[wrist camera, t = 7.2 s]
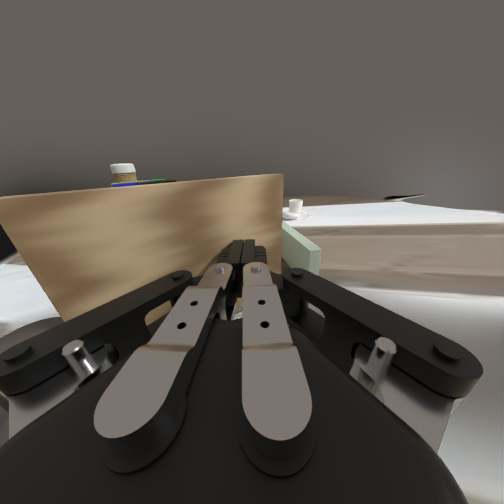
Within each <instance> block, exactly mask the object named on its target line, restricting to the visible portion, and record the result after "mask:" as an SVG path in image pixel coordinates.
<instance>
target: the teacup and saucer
mask: <svg viewBox="0 0 504 504" xmlns="http://www.w3.org/2000/svg"><path fill="white" fill-rule="evenodd" d="M302 202H303V200H300V199H292V200H289V210H290V211H289V212H283V213H282V218H284V219H291V220H302V219H308V218H310V217H312V214H310V213H307V212H302V211H301V209H302ZM300 213H304V214H306V215H307V217H305V218H299V215H300Z"/></svg>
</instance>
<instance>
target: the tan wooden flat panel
mask: <svg viewBox="0 0 504 504" xmlns="http://www.w3.org/2000/svg"><path fill="white" fill-rule="evenodd" d="M282 210H283V174H265V175H254V176H241V177H229V178H218V179H207V180H195V181H182V182H170V183H158V184H147V185H135V186H123V187H111V188H100V189H88V190H76V191H64V192H53V193H41V194H30V195H18V196H5V197H0V224H1V225H2V227H3V229H4V230H5V232H6V233H7V235H8V236H9V238H10V239H11V241H12V242H13V244H14V245H15V247H16V249H17V250H18V252H19V253H20V255H21V256H22V258H23V259H24V261H25V262H26V264H27V266H28V267H29V269H30V270H31V272H32V273H33V275H34V276H35V278H36V279H37V281H38V282H39V284H40V286H41V287H42V289H43V290H44V292H45V293H46V295H47V296H48V298H49V299H50V301H51V302H52V304H53V306H54V307H55V309H56V310H57V312H58V313H59V315H60V316H61V317H53V318H48V319H43V320H40V321H37V322H34V323H31V324H28V325H26V326H24V327H21V328H19V329H17V330H15V331H13V332H11V333H9V334H7V335H5V336H4V337H2V338H0V354H1V353H2V352H4V351H6V350H7V349H9V348H11V347H12V346H14V345H16V344H18V343H21V342H23V341H25V340H27V339H29V338H31V337H34V336H36V335H38V334H40V333H42V332H44V331H46V330H49V329H51V328H53V327H55V326H57V325H59V324H62V323H64V322H66V321H68V320H70V319H72V318H75V317H77V316H79V315H81V314H83V313H85V312H88V311H90V310H92V309H94V308H96V307H98V306H101V305H103V304H105V303H107V302H109V301H111V300H114V299H116V298H118V297H120V296H122V295H124V294H127V293H129V292H131V291H133V290H135V289H137V288H140V287H142V286H144V285H146V284H148V283H150V282H153V281H155V280H157V279H159V278H161V277H163V276H165V275H168V274H170V273H172V272H175V271H179V270H187V271H190V272H191V273H192V276H193V277H197V276H202V275H204V274H205V272H206V271H207V269H208V268H209V267H210V266H211V265H214V264H216V262H217V260H218V258H219V255H220V253H221V250H222V249H224V248H225V247H231V245H232V242H233V240H245V239H255V246H264V247H265V248H266V255H267V265H268V267H269V270H270V271H272V272H274V273H277V274H281V252H282ZM241 307H243V292H242V298H237V302H236V309H238V308H241ZM171 310H172V306H171V303H170V300H169V301H167V302H166V303H164V304H162V305H160V306H159V307H157V308H155V309H153V310H152V311H150V312H149V313H148V314H147V315H146V317H145V323H146V325H149V324H151V323H152V322H154V321H155V320H157V319H159V318H160V317H162V316H164V315H165V314H167V313H169V312H170V311H171ZM105 345H106V344H105ZM0 406H1V407H2V408H4V409H5V410H6V411H7V412H8V413H9V402H8V401H7V400H6V399H5V398H4V397H3V396H2V395H1V393H0Z"/></svg>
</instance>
